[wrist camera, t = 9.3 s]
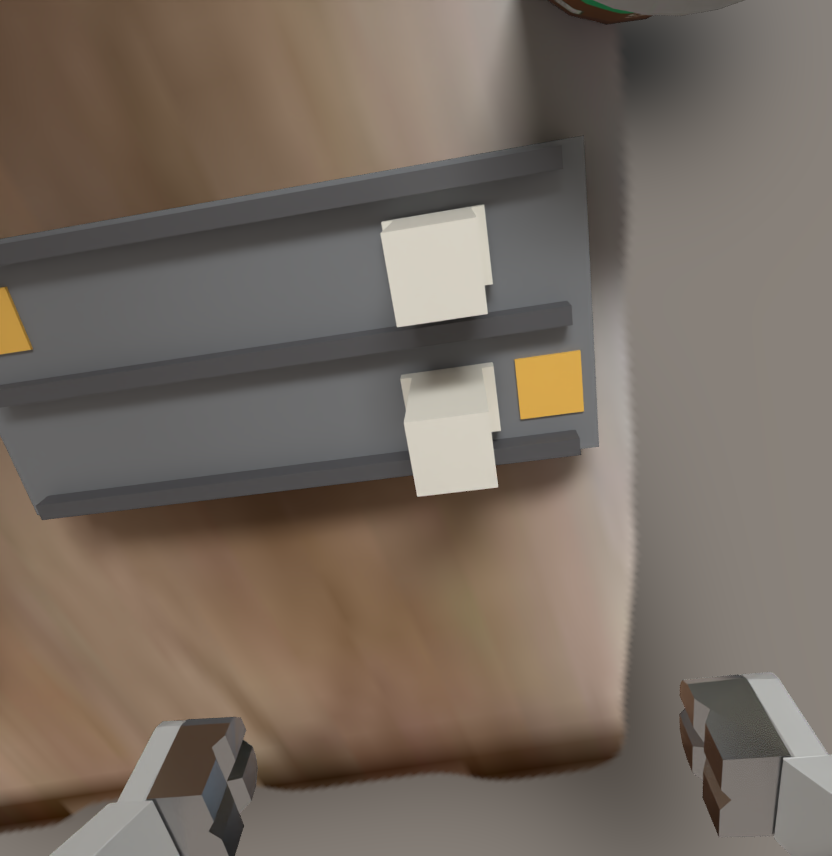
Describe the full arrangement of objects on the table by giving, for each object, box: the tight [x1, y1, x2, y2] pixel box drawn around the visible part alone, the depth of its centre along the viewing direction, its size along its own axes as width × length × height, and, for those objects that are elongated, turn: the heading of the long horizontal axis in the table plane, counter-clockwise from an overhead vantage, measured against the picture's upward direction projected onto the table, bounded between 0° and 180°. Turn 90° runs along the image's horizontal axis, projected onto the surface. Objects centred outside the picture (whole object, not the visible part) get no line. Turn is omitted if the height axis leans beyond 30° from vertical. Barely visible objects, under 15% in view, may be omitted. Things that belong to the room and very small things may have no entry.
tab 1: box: [380, 204, 493, 327], centre depth 22 cm, size 3×4×6 cm
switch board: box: [0, 136, 599, 520], centre depth 28 cm, size 13×28×4 cm, turn 99°
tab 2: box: [400, 362, 501, 497], centre depth 24 cm, size 3×4×6 cm
